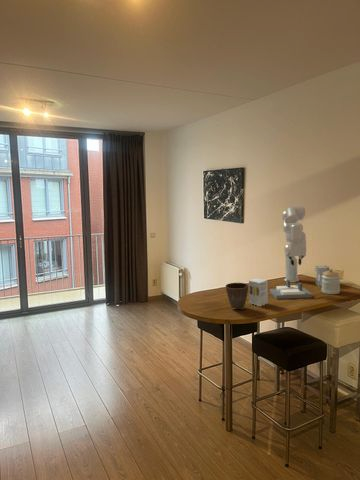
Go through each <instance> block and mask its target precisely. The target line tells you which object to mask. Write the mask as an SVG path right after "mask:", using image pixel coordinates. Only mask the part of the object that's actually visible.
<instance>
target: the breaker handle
mask: <svg viewBox="0 0 360 480" xmlns="http://www.w3.org/2000/svg"><path fill="white" fill-rule="evenodd" d="M297 286H298V290H300V291H302V287H303V283H302V282H299V281H298V282H297Z"/></svg>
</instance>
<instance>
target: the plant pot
mask: <svg viewBox="0 0 360 480" xmlns="http://www.w3.org/2000/svg"><path fill="white" fill-rule="evenodd" d="M225 291H226V294H227V298H228V302H229V304H230V308H231V309H232V308H235V309H242V308H243V309H244V308H245V305H246V302H247V297H248V294H249V283H243V282H231V283H227V284H226V285H225ZM243 309H242V310H243Z"/></svg>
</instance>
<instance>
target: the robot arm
mask: <svg viewBox="0 0 360 480" xmlns="http://www.w3.org/2000/svg"><path fill="white" fill-rule="evenodd" d="M281 216H282V221H283V222H282V229H283V232H284V233H285V240H286V242H287V244H285V246H284V254H285V277H284V278H283V281H285V282H286V279H289V280H290V283H296V282H297V283H298V282H299V281H300V279H299V278H298V265H299V266H301V265H302V260H303V259H304V257H306V256H307V255H306V254H307V237H306V233H305V232H304V231H303V230H304V225H303V224H302V223H301V222H299V221H302V220H304V218H305V216H306V209H305V207H304V206H290V207H288V208H287V209H286V210H284V211H283V212H282V215H281ZM297 257H298V259H297Z"/></svg>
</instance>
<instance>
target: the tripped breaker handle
mask: <svg viewBox="0 0 360 480" xmlns="http://www.w3.org/2000/svg"><path fill="white" fill-rule="evenodd" d="M285 286H287V287H290V286H291V282H290V280H289V279H286V281H285Z"/></svg>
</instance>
